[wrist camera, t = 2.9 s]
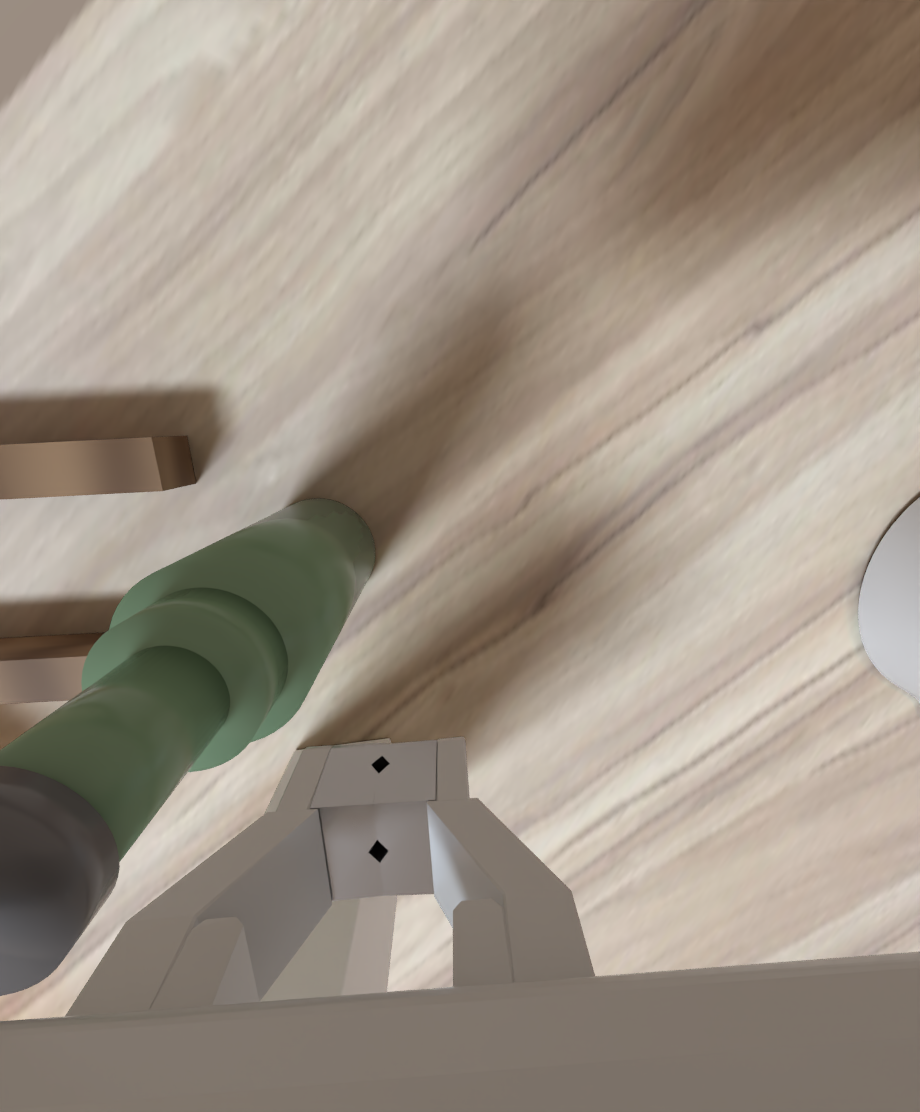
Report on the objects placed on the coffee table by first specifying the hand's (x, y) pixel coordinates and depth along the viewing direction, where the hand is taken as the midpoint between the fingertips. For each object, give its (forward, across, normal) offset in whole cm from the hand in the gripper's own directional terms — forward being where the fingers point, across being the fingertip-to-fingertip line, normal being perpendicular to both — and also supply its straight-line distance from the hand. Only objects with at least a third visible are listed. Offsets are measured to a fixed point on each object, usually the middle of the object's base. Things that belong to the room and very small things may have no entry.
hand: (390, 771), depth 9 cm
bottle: (+18, +6, 0) cm, 18 cm away
